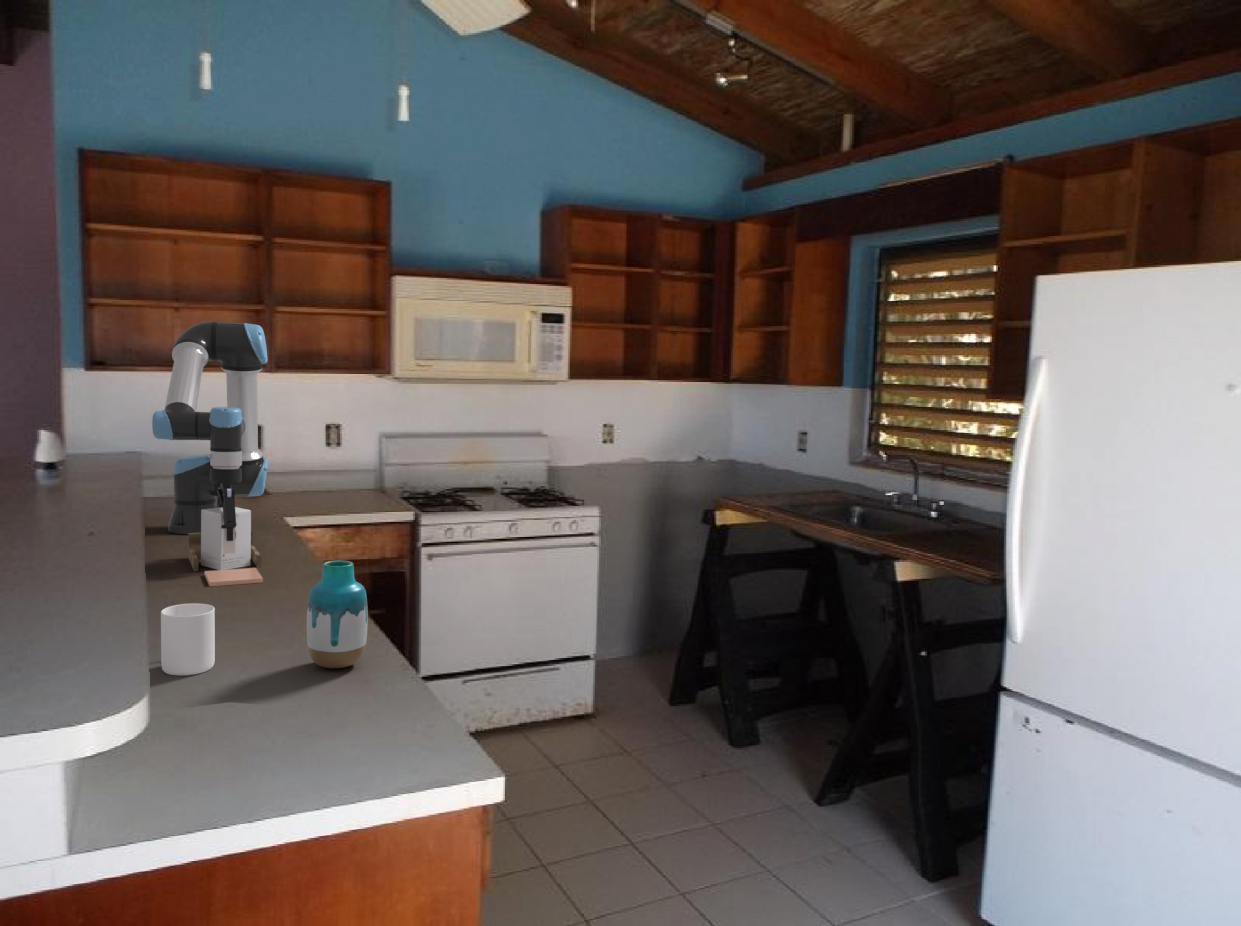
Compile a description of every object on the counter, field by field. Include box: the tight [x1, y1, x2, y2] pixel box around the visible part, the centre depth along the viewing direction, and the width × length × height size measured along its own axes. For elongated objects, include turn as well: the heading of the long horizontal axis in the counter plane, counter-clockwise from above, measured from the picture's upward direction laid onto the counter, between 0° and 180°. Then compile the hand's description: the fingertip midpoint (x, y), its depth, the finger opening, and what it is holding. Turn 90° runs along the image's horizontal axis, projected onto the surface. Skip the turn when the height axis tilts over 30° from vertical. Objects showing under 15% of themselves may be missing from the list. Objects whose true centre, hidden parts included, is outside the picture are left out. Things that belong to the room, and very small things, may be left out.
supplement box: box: [200, 506, 252, 571], centre depth 237 cm, size 9×9×15 cm
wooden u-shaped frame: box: [187, 529, 262, 572], centre depth 242 cm, size 16×16×7 cm
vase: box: [306, 559, 369, 669], centre depth 166 cm, size 11×11×19 cm
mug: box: [160, 602, 216, 677], centre depth 163 cm, size 9×12×11 cm
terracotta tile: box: [204, 567, 264, 587], centre depth 225 cm, size 12×12×1 cm
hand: (226, 547), depth 238 cm, fingers open, 13 cm apart
